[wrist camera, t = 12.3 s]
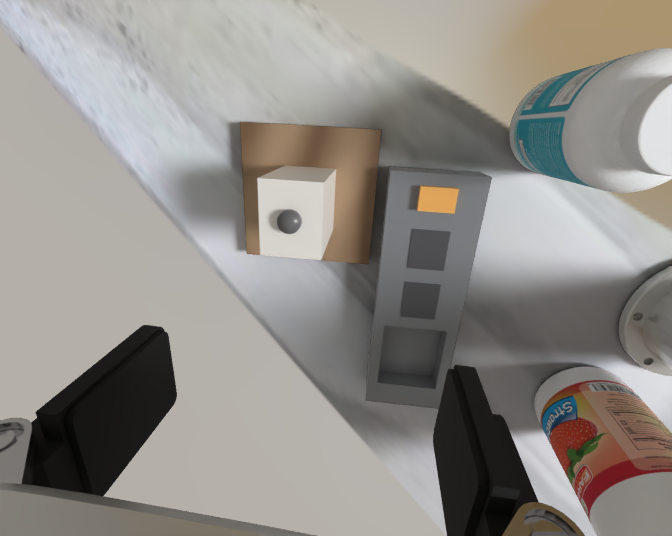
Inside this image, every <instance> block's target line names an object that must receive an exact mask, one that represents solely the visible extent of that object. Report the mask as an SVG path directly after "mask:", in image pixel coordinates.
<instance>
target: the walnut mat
mask: <svg viewBox="0 0 672 536" xmlns="http://www.w3.org/2000/svg"><path fill="white" fill-rule="evenodd" d="M240 130H241V149H242V169H243V189H244V209H245V229H246V248H247V254H254V255H260V238H259V210H258V182H257V178H259V177H261V176H263V175H265V174H267V173H270V172H272V171H274V170H276V169H278V168H281V167H283V166H285V165H287V166H303V167H318V168H334V169H336V181H335V202H334V222H333V231H332V234H331V236H330V239H329V241H328V244H327V247H326V249H325V252H324V254H323V257H322V259H321V260H325V261H336V262H348V263H360V264H369V256H370V246H371V235H372V224H373V214H374V203H375V193H376V182H377V171H378V161H379V150H380V140H381V130H379V129H361V128H343V127H325V126H307V125H290V124H272V123H254V122H240Z"/></svg>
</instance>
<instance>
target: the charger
mask: <svg viewBox="0 0 672 536" xmlns="http://www.w3.org/2000/svg"><path fill="white" fill-rule="evenodd" d="M335 181H336V169H334V168H318V167H303V166H287V165H285V166H283V167H281V168H278V169H276V170H274V171H272V172H270V173H267V174H265V175H263V176H261V177H259V178H257V182H258V210H259V238H260V255H265V256H277V257H289V258H301V259H313V260H321V259H322V257H323V254H324V252H325V249H326V247H327V244H328V241H329V239H330V236H331V234H332V231H333V222H334V202H335Z"/></svg>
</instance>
